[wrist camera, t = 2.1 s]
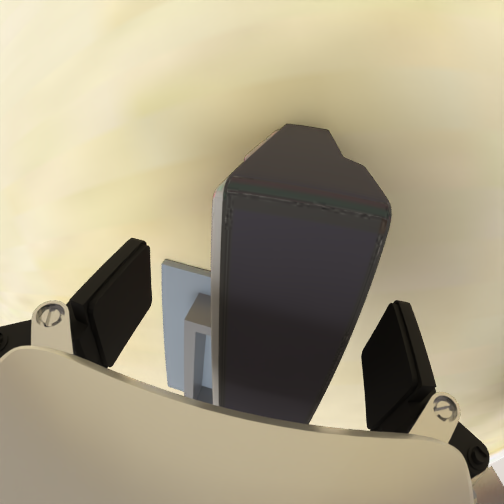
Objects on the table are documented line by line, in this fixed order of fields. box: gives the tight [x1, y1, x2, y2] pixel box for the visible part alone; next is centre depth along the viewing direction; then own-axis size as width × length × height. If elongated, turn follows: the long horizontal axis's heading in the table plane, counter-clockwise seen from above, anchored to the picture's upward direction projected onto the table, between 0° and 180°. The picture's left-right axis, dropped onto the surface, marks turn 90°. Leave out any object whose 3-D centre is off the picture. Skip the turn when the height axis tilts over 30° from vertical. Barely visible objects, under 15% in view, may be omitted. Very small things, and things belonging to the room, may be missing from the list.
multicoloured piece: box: [211, 124, 392, 424], centre depth 15 cm, size 11×4×15 cm, turn 175°
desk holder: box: [162, 259, 213, 404], centre depth 29 cm, size 16×20×4 cm
